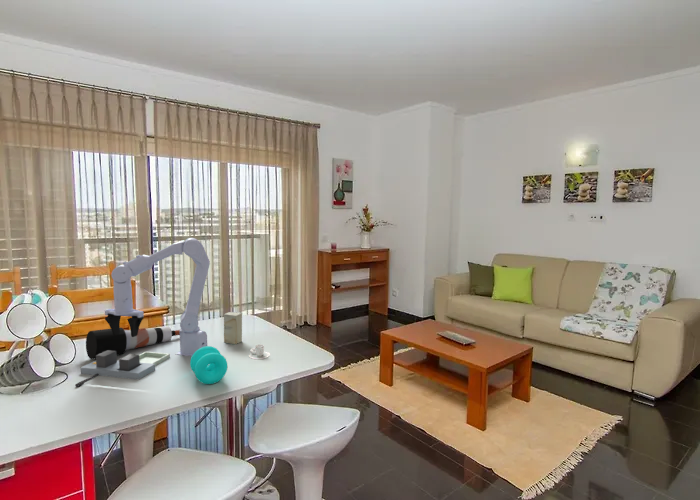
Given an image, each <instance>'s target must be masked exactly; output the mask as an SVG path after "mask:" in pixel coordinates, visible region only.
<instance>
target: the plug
mask: <svg viewBox="0 0 700 500" xmlns="http://www.w3.org/2000/svg"><path fill="white" fill-rule="evenodd" d="M139 355H140V354H135V353H129V354H126V355H125V356H122V357H120V358H119V359H118V360H119V368H120V370H121V371H131V370H132V369H134V368H136V367H138V366H140V360H139Z"/></svg>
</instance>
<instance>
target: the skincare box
mask: <svg viewBox="0 0 700 500" xmlns="http://www.w3.org/2000/svg"><path fill="white" fill-rule="evenodd" d="M242 341H243V313H242V312H235V311H229V312H226V313H223V343H227V344H232V345H237V343H238V344H240V343H241V342H242Z"/></svg>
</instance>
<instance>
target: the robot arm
mask: <svg viewBox="0 0 700 500" xmlns="http://www.w3.org/2000/svg"><path fill="white" fill-rule="evenodd" d="M183 253H184V254H185V255H186V256H188V257H189V258H191V260H193V262H194V264H195V265H196V266H195V269H194V274H193V277H192V282H191V286H190V290H189V294H188V298H187V303H186V306H185V309H184V311H183V312H182V314H181V315H180V322H179V327H180V328H179V329H178V330H179V333H180V335H179V351H178V352H175V354H174V355H176V356H187V357H192V355H193V354H194V353H195V352H196V351H197V350H198V349H200V348H202V347H205V346H208V335H207V332H206V331H204V330H201V328H200V326H199V320H198V318H199V317H198V315H199V311H200V304H201V301H202V298H203V297H202V296H203V293H204V288H205V285H206V284H205V283H206V280H207V276H208V272H209V268H210V265H211V263H210V259H209V256H208V255H207V252H206V250H205V247H204V246H203V244H202V243H201V241H199V240H198V238H195V237H187V238H186V239H185V240H184V239H183V240H180V241H177V242H174V243H171V244H169V245H168V246H166V247H164V248H162V249H160V250H158V251H155V252H154V253H152V254H150V255H147V254H138V255H136V256H135V258H133V259H131V260H129V261H123V262H122V264H120V265H117V266H116V267H115V268H113V269H112V271H111V273H110V274H111V275H110V276H111V278H112V280H113V283H112V285H113V289H112V290H113V301H114V302H113V303H114V308H108V309H105V310H104V316H105V317H104V320H105V321H106V322H107V324H108V325H109V329H111V330H112V333H113V335H114V336H115V335H118V334H119V332H120V328H121V327H120V324H121V318H122V317H129V318H127V322H128V325H129V328H130V329H129V330H131V336H132V337H135V336H137V334H138V330H139V329H140V326H141V323H142V321H143V319H144V316H145V315H144V311H143V310H139V309H134V308H133V307H134V304H133V303H134V302H133V289H132V287H133V286H132V282H131V281H132V279H131V277H136V276H139V275H140V274H143V273H145V272H147V271H149V270H150V269H153V265H154V264H156V263H158V262H159V261H162V260H164V259H166V258H169V257H172V256H174V255H178V256H179V255H180V256H181V255H182V256H183Z"/></svg>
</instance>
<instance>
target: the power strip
mask: <svg viewBox="0 0 700 500" xmlns="http://www.w3.org/2000/svg"><path fill="white" fill-rule="evenodd" d="M117 356H118V355H117V353H116V351H111V350H107V351H105V352H102V353H100V354H98V355H96V359H95V360H94V361H92V362H90V363H87V364H85V365H83V366H81V367H80V373H81V374H84V375H91V376H90V377H88V378H86V379H84V380H81V381H79V382H77V383H75V384H74V386H75V388H77V387H80V386H82V385H84V384H85V383H87V382H88V381H90V380H92V379H95V378H96V377H99V376H102V377H112V378H121V379H131V380H140V379H142V378H143V377H145V376H147V375H149V374H150V373H152V372H154V371H156V366H155V364H150V363H140V366H138V367H136V368H134V369H132V370H131V371H121V370H120V368H119V359H118V357H117Z"/></svg>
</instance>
